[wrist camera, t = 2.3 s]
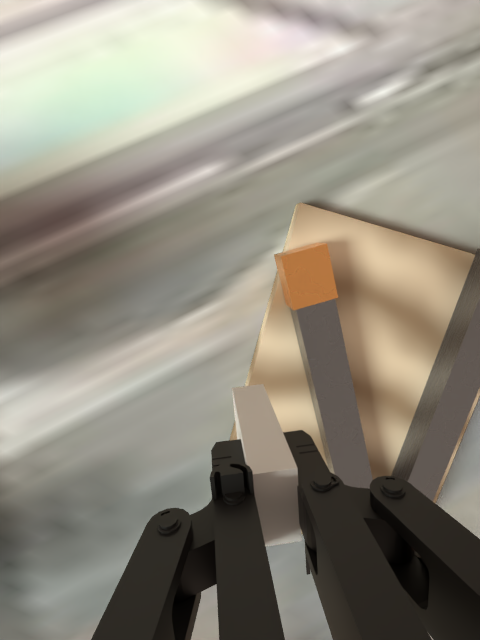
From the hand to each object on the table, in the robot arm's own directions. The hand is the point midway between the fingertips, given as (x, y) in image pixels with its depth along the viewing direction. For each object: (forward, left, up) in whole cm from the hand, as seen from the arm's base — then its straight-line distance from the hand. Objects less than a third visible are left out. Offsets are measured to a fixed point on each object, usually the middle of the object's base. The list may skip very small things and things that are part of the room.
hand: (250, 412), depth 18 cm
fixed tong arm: (-1, -19, -12) cm, 23 cm away
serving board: (-2, -13, -14) cm, 19 cm away
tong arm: (-3, -10, -12) cm, 16 cm away
